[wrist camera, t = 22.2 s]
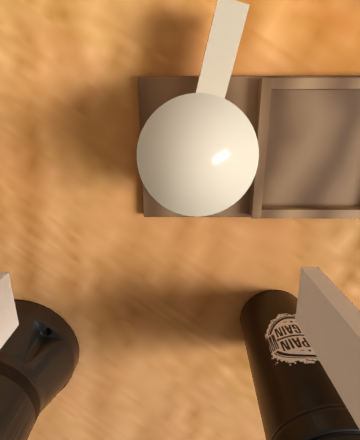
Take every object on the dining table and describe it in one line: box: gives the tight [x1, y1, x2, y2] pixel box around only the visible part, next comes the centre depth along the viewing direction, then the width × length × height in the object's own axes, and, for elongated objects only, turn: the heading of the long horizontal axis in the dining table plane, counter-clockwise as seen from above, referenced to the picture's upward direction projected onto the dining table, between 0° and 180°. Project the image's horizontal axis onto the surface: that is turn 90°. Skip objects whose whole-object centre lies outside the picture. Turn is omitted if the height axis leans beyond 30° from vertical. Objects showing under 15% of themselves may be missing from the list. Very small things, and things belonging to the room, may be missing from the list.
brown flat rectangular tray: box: [138, 76, 360, 219], centre depth 34 cm, size 27×15×2 cm, turn 90°
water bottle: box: [240, 290, 360, 440], centre depth 31 cm, size 10×10×23 cm
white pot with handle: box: [137, 0, 259, 217], centre depth 29 cm, size 18×10×9 cm, turn 167°
